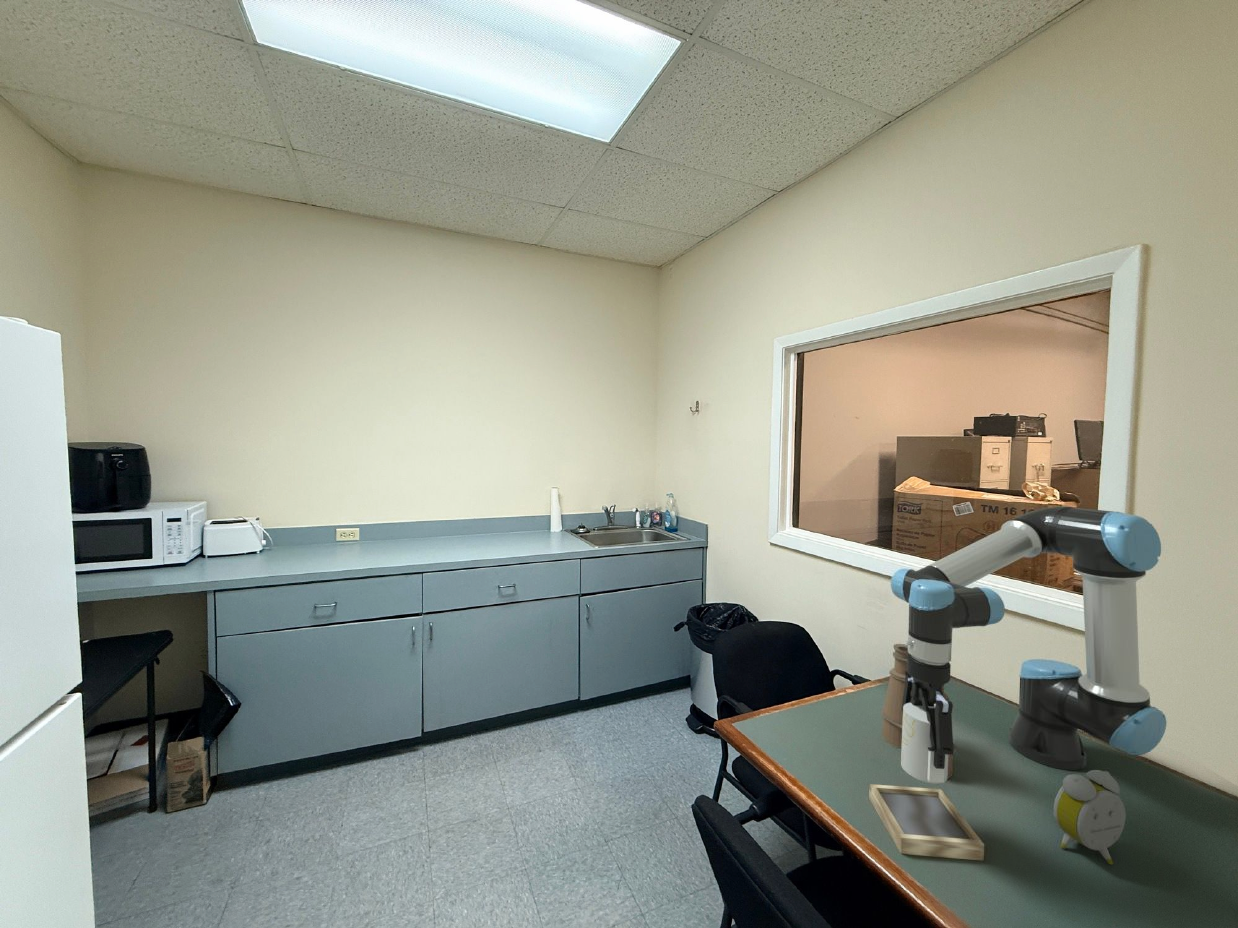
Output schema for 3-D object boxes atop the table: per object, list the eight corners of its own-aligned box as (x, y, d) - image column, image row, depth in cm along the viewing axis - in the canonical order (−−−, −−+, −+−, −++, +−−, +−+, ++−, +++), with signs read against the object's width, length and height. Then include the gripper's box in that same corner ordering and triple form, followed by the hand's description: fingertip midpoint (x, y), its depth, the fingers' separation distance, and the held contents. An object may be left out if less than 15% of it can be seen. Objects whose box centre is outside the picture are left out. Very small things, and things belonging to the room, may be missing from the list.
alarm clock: (1093, 832, 102) (1098, 761, 101) (1135, 860, 95) (1139, 784, 94) (1049, 842, 99) (1053, 769, 98) (1089, 871, 92) (1093, 793, 92)
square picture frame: (940, 803, 109) (940, 789, 109) (983, 860, 95) (984, 844, 94) (869, 797, 111) (869, 783, 111) (900, 853, 96) (901, 837, 96)
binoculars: (964, 778, 118) (969, 674, 117) (925, 780, 117) (929, 676, 116) (906, 727, 138) (909, 639, 137) (872, 729, 137) (875, 640, 136)
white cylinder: (903, 752, 108) (905, 698, 107) (948, 767, 103) (950, 710, 102) (898, 772, 101) (900, 714, 101) (946, 789, 96) (949, 728, 96)
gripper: (886, 636, 112) (882, 734, 113) (937, 681, 91) (931, 801, 92) (921, 638, 111) (917, 737, 112) (980, 683, 90) (974, 804, 91)
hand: (923, 766), depth 102 cm, fingers closed on white cylinder, 8 cm apart
